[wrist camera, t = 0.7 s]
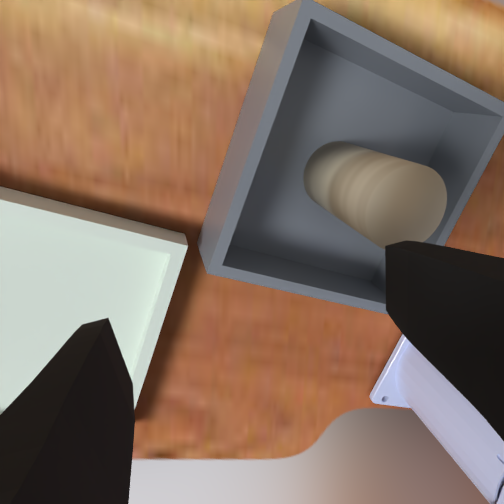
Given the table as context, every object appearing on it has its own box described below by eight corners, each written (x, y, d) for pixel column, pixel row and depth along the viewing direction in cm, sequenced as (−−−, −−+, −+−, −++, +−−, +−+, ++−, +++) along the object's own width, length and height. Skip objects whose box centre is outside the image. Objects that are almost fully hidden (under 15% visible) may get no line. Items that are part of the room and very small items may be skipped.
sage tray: (184, 233, 19) (188, 245, 18) (123, 424, 23) (122, 447, 21) (-123, 154, 15) (-150, 162, 14) (-140, 403, 18) (-163, 430, 17)
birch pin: (374, 153, 19) (462, 180, 14) (347, 213, 20) (420, 260, 15) (319, 131, 18) (391, 151, 13) (293, 196, 19) (351, 240, 14)
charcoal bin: (458, 105, 20) (517, 109, 17) (369, 286, 23) (405, 318, 20) (273, 12, 16) (303, -5, 13) (196, 242, 19) (206, 273, 16)
